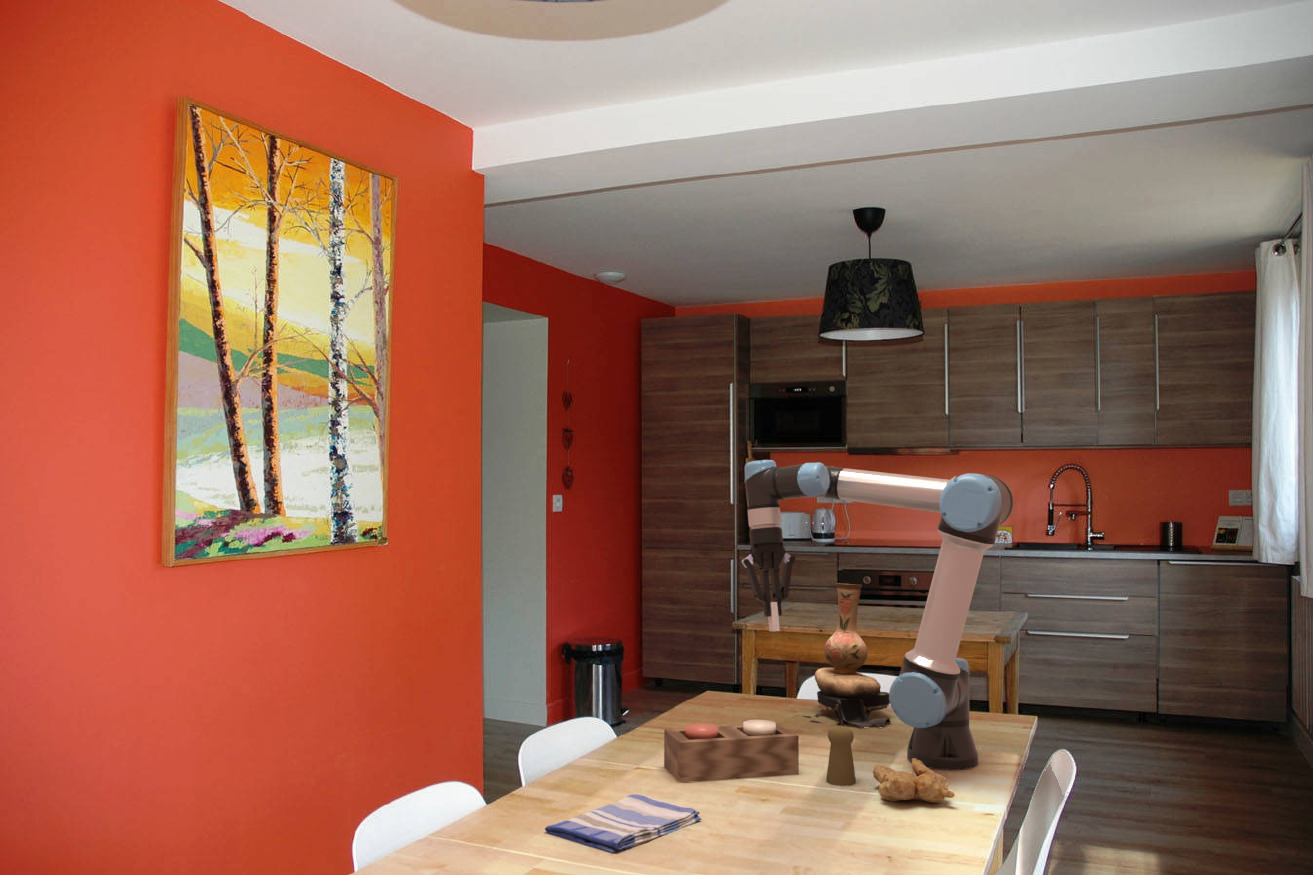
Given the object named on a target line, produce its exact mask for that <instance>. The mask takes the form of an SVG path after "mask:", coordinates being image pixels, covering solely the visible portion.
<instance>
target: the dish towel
mask: <svg viewBox="0 0 1313 875" xmlns="http://www.w3.org/2000/svg"><path fill="white" fill-rule="evenodd" d="M700 814H701V812H700V810H697V809H696V808H693V807H687V806H683V805H680V804H676V803H673V802H670V801H665V800H660V799H656V798H653V797H651V796H649V795H645V794H639V793H633V794H629V795H626V796H625V797H623V798H622V799H620V800H617V801H615V802H613V803H610V804H607V805H604V806H602V807H601V806H600V807H598V808H595V809H594V810H591V811H588V812H585V813H581V814H579V815H576V816H573V817H572V818H570V819H567V820H563V821H559V822H557V823H552V824H550V825H547V826H545V827H544V830H545V832H546V833H548V834H549V835H553V836H556V837H558V838H562V839H565V840H569V841H571V842H573V843H577V844H579V845H580V844H581V845H583V846H587V847H590V848H593V849H596V850H600V851H603V852H606V853H610V854H611V855H613V853H614V854H615V853H618V852H620V851H621V852H622V851H625V850H627V849H629V848H632V847H636V846H639V845H642V844H645V843H648V841H651V840H654V839H656V838H659V837H661V836H666V835H669V834H672V833H673V832H676V831H678V830H681V829H682V828H685V827H688V826H690V825H693V824H695V823H697V821H699V822H700V821H701V820H702V817H701V816H699V815H700Z"/></svg>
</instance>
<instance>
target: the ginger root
mask: <svg viewBox="0 0 1313 875" xmlns="http://www.w3.org/2000/svg"><path fill="white" fill-rule="evenodd" d="M911 764H912V771H913V773H911V772H909V771H901V770H895V769H892V767H889V766H887V765H884V764H875V765H874V767H873V770H872V774H873V778H874V779H875V781H877V782H878V783H879V784H880V785H879V786H878V793H879V795H880V797H881V798H882V799H885V800H886V801H890V802H897V801H901V800H902V801H909V800H916V801H926V802H928V803H933V804H937V803H938V804H939V803H943V800H945V799H947V798H948V799H951V798H952V799H953V798H954V797H955V792H954V791H951V790H949V783H948V781H947V778H946V777H945V776H944V775H941V774H940V773H939V774H938V773H936V772H935V771H933V769H931V768H929V767H926V766H925V765H924V764H923V763H922V761H920V760H917V759H916V758H912V762H911Z"/></svg>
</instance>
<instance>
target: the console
mask: <svg viewBox="0 0 1313 875" xmlns="http://www.w3.org/2000/svg"><path fill="white" fill-rule="evenodd" d="M775 723H776V734H775V735H762V736H748V735H746V734H744V733H743V724H739V725H724V726H723V725H721V726H718V725H717V726H718V738H712V739H695V740H690V739H689V738H686V737H685V727H684V728H668V729H664V732H663V733H664V734H663V737H664V739H663V740H664V741H663V742H664V743H663V755H664V756H663V757H664V758H663V768H664V769H665V770H667V772H668V773H669V774H670V775H671V776H673V777H674V778H675V779H676V780H677V781H678V782H679V781H680V782H684V783H690V782H689V781H698V782H707V781H708V782H710V781H723V780H725V781H726V780H735V779H738V780H739V779H750V778H762V777H763V778H764V777H779V776H780V777H781V776H795V775H799V771H800V769H799V767H800V766H799V765H800V764H799V760H800V758H799V755H800V754H799V747H800V746H799V745H800V743H799V734H796V733H795V732H793V731H791V730H789V728H787V727H784V726H783V725H781V724H779V723H777V722H775ZM680 782H679V783H680Z"/></svg>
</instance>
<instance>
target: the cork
mask: <svg viewBox="0 0 1313 875" xmlns="http://www.w3.org/2000/svg"><path fill="white" fill-rule="evenodd" d="M827 738H828V740H829V742H830V748H829V755H828V764H827V771H826V778H825V779H826V780H825V782H826V783H827V782H828V784H829V783H830V785H834V786H839V785H840V787H843V786H845V787H846V785H849V786H853V784H854V785H855V784H856V783H857V782H856V781H857V780H856V775H855V774H856V772H855V764H854V757H853V750H852V744H853V742H854V739H855V737H854V732H853V730H852V729H851V728H850V727H847V726H842V725H839V726H838V725H836V726H832V727H830V728H829V730H828V732H827Z"/></svg>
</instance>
